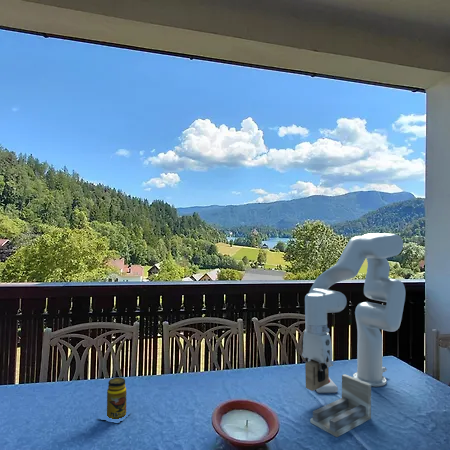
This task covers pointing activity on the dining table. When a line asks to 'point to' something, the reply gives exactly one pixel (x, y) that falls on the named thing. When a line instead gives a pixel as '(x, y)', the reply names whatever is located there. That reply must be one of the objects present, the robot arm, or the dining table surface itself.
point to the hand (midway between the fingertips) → (317, 378)
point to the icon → (328, 388)
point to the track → (345, 408)
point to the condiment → (116, 398)
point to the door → (314, 375)
